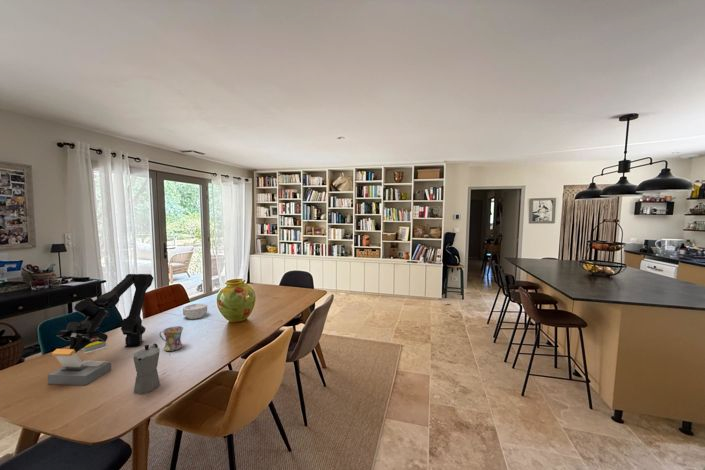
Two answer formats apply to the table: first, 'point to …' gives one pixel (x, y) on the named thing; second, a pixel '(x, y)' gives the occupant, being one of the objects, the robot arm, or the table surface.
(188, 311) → the paper bowls
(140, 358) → the coffeepot
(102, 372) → the box
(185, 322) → the table surface
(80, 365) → the handle
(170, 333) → the mug
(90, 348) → the emergency button
